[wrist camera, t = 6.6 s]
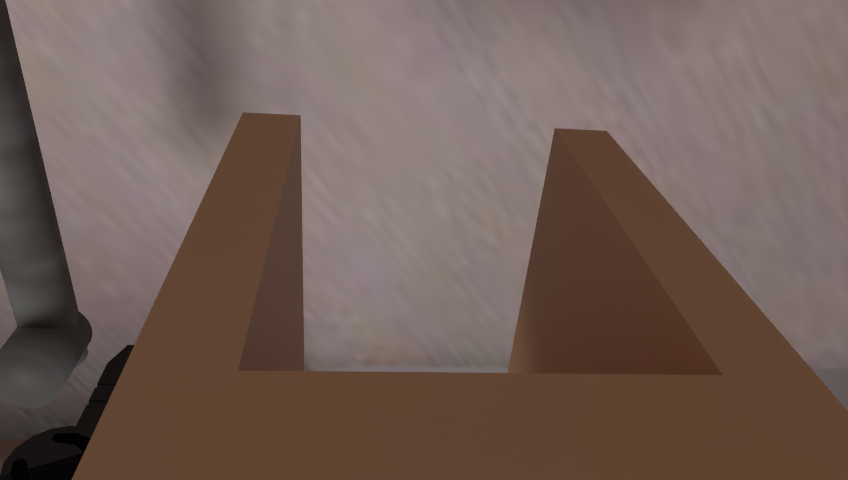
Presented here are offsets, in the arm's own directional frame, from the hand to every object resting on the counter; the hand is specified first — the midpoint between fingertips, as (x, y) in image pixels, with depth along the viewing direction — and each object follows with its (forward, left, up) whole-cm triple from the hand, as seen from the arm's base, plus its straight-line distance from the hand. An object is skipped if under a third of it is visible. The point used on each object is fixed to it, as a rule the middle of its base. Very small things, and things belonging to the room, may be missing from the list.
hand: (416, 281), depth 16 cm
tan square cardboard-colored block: (0, 0, 0) cm, 0 cm away
